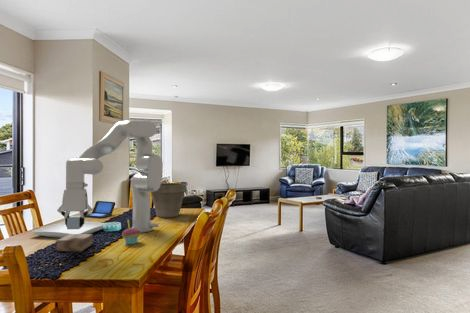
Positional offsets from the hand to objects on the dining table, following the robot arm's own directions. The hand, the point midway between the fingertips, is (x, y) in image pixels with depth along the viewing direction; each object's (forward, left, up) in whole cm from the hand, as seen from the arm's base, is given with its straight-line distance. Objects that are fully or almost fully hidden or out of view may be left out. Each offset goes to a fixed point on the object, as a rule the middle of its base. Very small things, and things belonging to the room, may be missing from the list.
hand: (74, 225), depth 149 cm
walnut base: (0, 0, -10) cm, 10 cm away
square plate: (+10, -29, -11) cm, 33 cm away
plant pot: (-39, -69, -10) cm, 80 cm away
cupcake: (-24, -4, -10) cm, 26 cm away
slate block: (0, 0, -1) cm, 1 cm away
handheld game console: (+6, -74, -10) cm, 75 cm away
